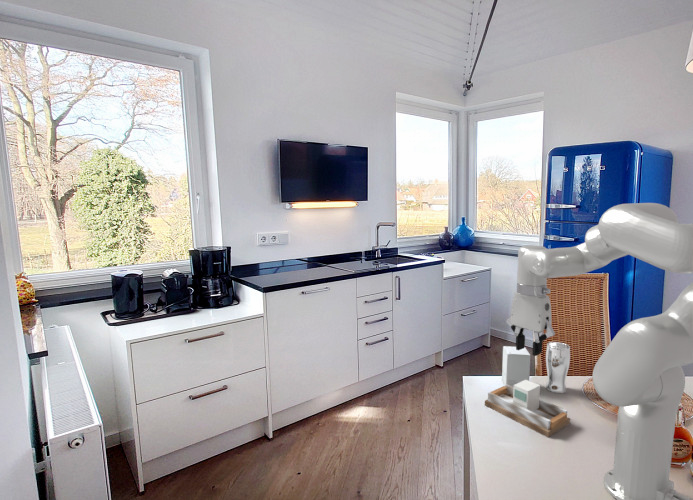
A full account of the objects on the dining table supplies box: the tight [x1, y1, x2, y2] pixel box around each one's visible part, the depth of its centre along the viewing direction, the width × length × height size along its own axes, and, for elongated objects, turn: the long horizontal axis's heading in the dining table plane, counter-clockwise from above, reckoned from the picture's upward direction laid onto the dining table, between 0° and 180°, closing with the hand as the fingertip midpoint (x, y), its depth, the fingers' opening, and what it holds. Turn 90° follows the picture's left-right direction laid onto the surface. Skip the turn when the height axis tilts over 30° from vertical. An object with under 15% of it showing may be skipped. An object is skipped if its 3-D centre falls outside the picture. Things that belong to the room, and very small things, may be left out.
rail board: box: [484, 385, 571, 438], centre depth 117 cm, size 20×11×4 cm, turn 34°
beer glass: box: [545, 341, 571, 394], centre depth 131 cm, size 7×7×15 cm
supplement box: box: [501, 345, 532, 387], centre depth 134 cm, size 7×7×13 cm
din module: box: [513, 380, 541, 411], centre depth 116 cm, size 4×6×7 cm
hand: (528, 351), depth 115 cm, fingers open, 4 cm apart
